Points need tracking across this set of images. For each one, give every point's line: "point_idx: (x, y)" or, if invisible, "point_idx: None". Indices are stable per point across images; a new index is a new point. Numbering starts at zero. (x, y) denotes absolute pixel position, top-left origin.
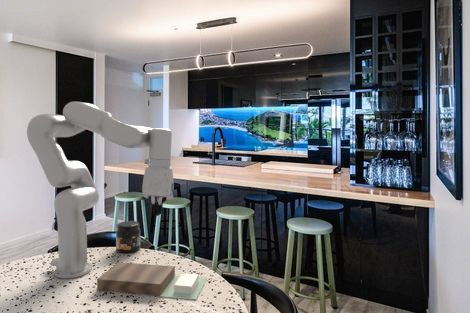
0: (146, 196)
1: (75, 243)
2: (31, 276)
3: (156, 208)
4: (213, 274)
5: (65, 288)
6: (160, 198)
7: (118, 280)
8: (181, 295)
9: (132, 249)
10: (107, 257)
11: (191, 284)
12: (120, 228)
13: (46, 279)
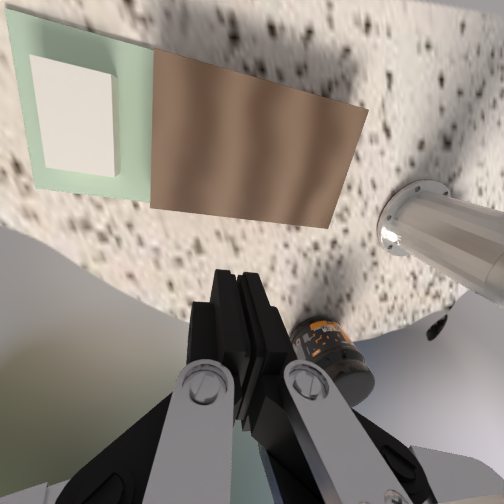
0: (453, 477)
1: (486, 224)
2: (485, 192)
3: (241, 315)
4: (26, 220)
5: (419, 128)
6: (189, 488)
7: (307, 94)
8: (80, 50)
9: (305, 326)
10: (351, 293)
11: (38, 74)
12: (362, 366)
13: (458, 177)
